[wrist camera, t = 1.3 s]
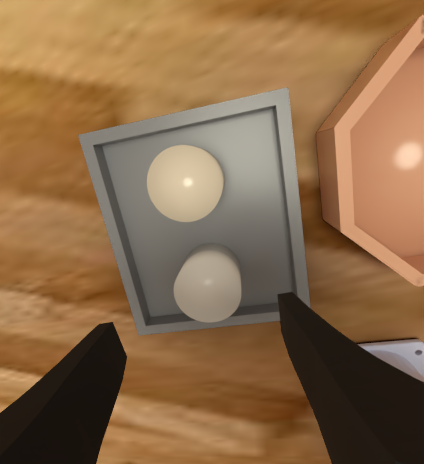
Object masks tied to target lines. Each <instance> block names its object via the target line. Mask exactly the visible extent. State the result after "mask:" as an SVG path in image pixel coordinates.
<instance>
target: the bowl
mask: <svg viewBox="0 0 424 464" xmlns="http://www.w3.org/2000/svg"><path fill="white" fill-rule="evenodd" d="M316 142H317V155H318V167H319V180H320V192H321V205H322V217H323V220H325V221H326V222H327V223H329V224H330V225H331V226H333V227H334V228H336V229H337V230H338V231H340V232H341V233H343V234H344V235H345V236H347V237H348V238H350V239H351V240H352V241H354V242H355V243H357V244H358V245H359V246H361V247H362V248H363V249H365V250H366V251H368V252H369V253H370V254H372V255H373V256H375V257H376V258H377V259H379V260H380V261H382V262H383V263H384V264H386V265H387V266H389V267H390V268H391V269H393V270H394V271H396V272H397V273H398V274H400V275H401V276H402V277H404V278H405V279H407V280H408V281H409V282H411V283H412V284H414V285H415V286H424V15H421V16H420V17H419V18H417V19H416V20H415V21H414V22H412V23H411V24H410V25H408V26H407V27H406V28H404V29H403V30H402V31H401V32H399V33H398V34H397V35H395V36H394V37H393V38H392V39H390V40H389V41H388V42H386V43H385V44H384V45H383V46H382V47H381V48H380V49H379V51H378V52H377V53H376V54H375V56H374V57H373V58H372V60H371V61H370V62H369V64H368V65H367V66H366V68H365V69H364V70H363V72H362V73H361V74H360V76H359V77H358V78H357V80H356V81H355V82H354V83H353V85H352V86H351V87H350V89H349V90H348V91H347V93H346V94H345V95H344V97H343V98H342V99H341V101H340V102H339V103H338V105H337V106H336V107H335V109H334V110H333V111H332V112H331V114H330V115H329V116H328V118H327V119H326V120H325V122H324V123H323V124H322V126H321V127H320V128H319V130H318V131H317V132H316Z"/></svg>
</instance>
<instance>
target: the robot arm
mask: <svg viewBox="0 0 424 464" xmlns="http://www.w3.org/2000/svg"><path fill="white" fill-rule="evenodd" d="M277 296H278V305H279V314H280V323H281V332H282V335H283V338H284V342H285V345H286V348H287V351H288V354H289V357H290V359H291V361H292V364H293V366H294V368H295V371H296V373H297V375H298V377H299V380H300V382H301V384H302V386H303V389H304V391H305V393H306V396H307V398H308V400H309V402H310V405H311V407H312V409H313V412H314V414H315V417H316V419H317V422H318V424H319V427H320V430H321V433H322V436H323V439H324V442H325V445H326V448H327V450H328V453H329V456H330V459H331V462H332V464H424V343H423V342H422V341H421V340H419V339H412V340H400V341H389V342H377V343H366V344H356V343H354V342H353V341H351V340H350V339H349V338H347V337H346V336H344V335H343V334H342V333H340V332H339V331H338V330H336V329H335V328H334V327H332V326H331V325H330V324H329V323H327V322H326V321H325V320H324V319H322V318H321V317H320V316H319V315H318V314H316V313H315V312H314V311H313V310H312V309H311V308H309V307H308V306H307V305H306V304H305V303H304V302H303V301H302V300H301V299H300V298H299V297H297V296H296V295H295V294H294V293H293V292H288V293H282V294H277ZM417 350H418V351H417ZM415 351H417V352H415ZM126 359H127V356H126V353H125V351H124V348H123V346H122V344H121V341H120V339H119V336H118V334H117V331H116V329H115V327H114V324H113V322H110V323H104V324H99V325H98V326H97V327H95V328H94V329H93V330H92V331H91V332H90V333H89V334H88V335H87V336H86V337H85V338H84V339H83V340H82V341H81V342H80V343H79V344H77V345H76V346H75V347H74V348H73V349H72V350H71V351H70V352H69V353H68V354H67V355H66V356H65V357H64V358H63V359H62V360H61V361H60V362H59V363H58V364H57V365H56V366H55V367H53V368H52V369H51V370H50V371H49V372H48V373H47V374H46V375H45V376H44V377H42V378H41V379H40V380H39V381H38V382H37V383H36V384H35V385H34V386H33V387H31V388H30V389H29V390H28V391H27V392H26V393H24V394H23V395H22V396H21V397H20V398H18V399H17V400H16V401H15V402H13V403H12V404H11V405H10V406H8V407H7V408H6V409H5V410H3V411H2V412H1V413H0V464H96V462H97V458H98V454H99V451H100V447H101V444H102V441H103V438H104V435H105V432H106V429H107V426H108V423H109V420H110V417H111V414H112V411H113V408H114V405H115V402H116V399H117V396H118V393H119V390H120V386H121V383H122V380H123V375H124V370H125V365H126Z"/></svg>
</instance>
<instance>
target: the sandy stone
mask: <svg viewBox="0 0 424 464" xmlns="http://www.w3.org/2000/svg"><path fill="white" fill-rule="evenodd" d="M224 185H225V174H224V170H223V167H222V165H221V163H220V162H219V160H218V159H217V158H216V157H215V156H214V155H213V154H212V153H210V152H209V151H207V150H204V149H201V148H198V147H194V146H189V145H176V146H172V147H170V148H167V149H165V150H164V151H162V152H161V153H160V154H159V155H158V156H157V157H156V158H155V159H154V160H153V162H152V164H151V166H150V168H149V171H148V175H147V189H148V193H149V196H150V199H151V201H152V203H153V204H154V206H155V207H156V208H157V209H158V210H159V211H160V212H161V213H162V214H163V215H165V216H166V217H168V218H170V219H172V220H175V221H179V222H193V221H197V220H199V219H202V218H203V217H205V216H207V215H208V214H209V213H210V212H211V211H212V210H213V209H214V208H215V207H216V205H217V203H218V201H219V199H220V197H221V194H222V192H223V189H224Z"/></svg>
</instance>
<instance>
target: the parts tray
mask: <svg viewBox="0 0 424 464" xmlns="http://www.w3.org/2000/svg"><path fill="white" fill-rule="evenodd" d="M78 136H79V139H80V143H81V146H82V149H83V153H84V156H85V159H86V163H87V166H88V169H89V172H90V176H91V179H92V182H93V186H94V189H95V192H96V196H97V199H98V202H99V205H100V209H101V212H102V215H103V219H104V222H105V225H106V229H107V232H108V235H109V238H110V242H111V245H112V248H113V252H114V255H115V258H116V262H117V265H118V268H119V271H120V275H121V278H122V281H123V285H124V288H125V291H126V295H127V298H128V301H129V304H130V308H131V311H132V314H133V318H134V321H135V324H136V328H137V331H138V334H139V335H148V334H158V333H167V332H177V331H187V330H196V329H206V328H216V327H225V326H235V325H245V324H254V323H264V322H274V321H280V314H279V305H278V296H277V294H282V293H288V292H293V293H294V294H295V295H296V296H297V297H299V298H300V299H301V300H302V301H303V302H304V303H305V304H306V305H307V306H308V307H309V308H311V307H310V297H309V288H308V278H307V268H306V258H305V248H304V238H303V228H302V219H301V209H300V199H299V189H298V179H297V169H296V159H295V150H294V140H293V130H292V120H291V110H290V100H289V90H288V87H287V88H283V89H278V90H274V91H269V92H265V93H261V94H256V95H252V96H248V97H243V98H239V99H234V100H230V101H226V102H221V103H217V104H212V105H208V106H204V107H199V108H195V109H190V110H186V111H182V112H177V113H173V114H168V115H164V116H160V117H155V118H151V119H146V120H142V121H138V122H133V123H129V124H125V125H120V126H116V127H111V128H107V129H103V130H98V131H94V132H89V133H85V134H81V135H78ZM176 145H189V146H194V147H198V148H201V149H204V150H207V151H209V152H210V153H212V154H213V155H214V156H215V157H216V158H217V159H218V160H219V162H220V163H221V165H222V167H223V170H224V174H225V185H224V189H223V192H222V194H221V197H220V199H219V201H218V203H217V205H216V207H215V208H214V209H213V210H212V211H211V212H210V213H209V214H208V215H207V216H205V217H203V218H202V219H199V220H197V221H193V222H179V221H175V220H172V219H170V218H168V217H166V216H165V215H163V214H162V213H161V212H160V211H159V210H158V209H157V208H156V207H155V206H154V204H153V203H152V201H151V199H150V196H149V193H148V189H147V175H148V171H149V168H150V166H151V164H152V162H153V160H154V159H155V158H156V157H157V156H158V155H159V154H160V153H161V152H162V151H164V150H165V149H167V148H170V147H172V146H176ZM207 243H216V244H220V245H223V246H225V247H227V248H229V249H230V250H231V251H232V252H233V253H234V254H235V255H236V256H237V258H238V260H239V263H240V267H241V300H240V303H239V306H238V308H237V309H236V311H235V312H234V313H233V314H232V315H231V316H229V317H228V318H226V319H224V320H222V321H218V322H211V323H207V322H200V321H197V320H195V319H192V318H191V317H189V316H187V315H186V314H185V313H184V312H183V311H182V310H181V309H180V308H179V306H178V305H177V303H176V300H175V297H174V283H175V280H176V278H177V276H178V274H179V272H180V270H181V268H182V266H183V264H184V262H185V260H186V258H187V256H188V255H189V253H190V252H191V251H192V250H193V249H195V248H196V247H198V246H200V245H203V244H207Z"/></svg>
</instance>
